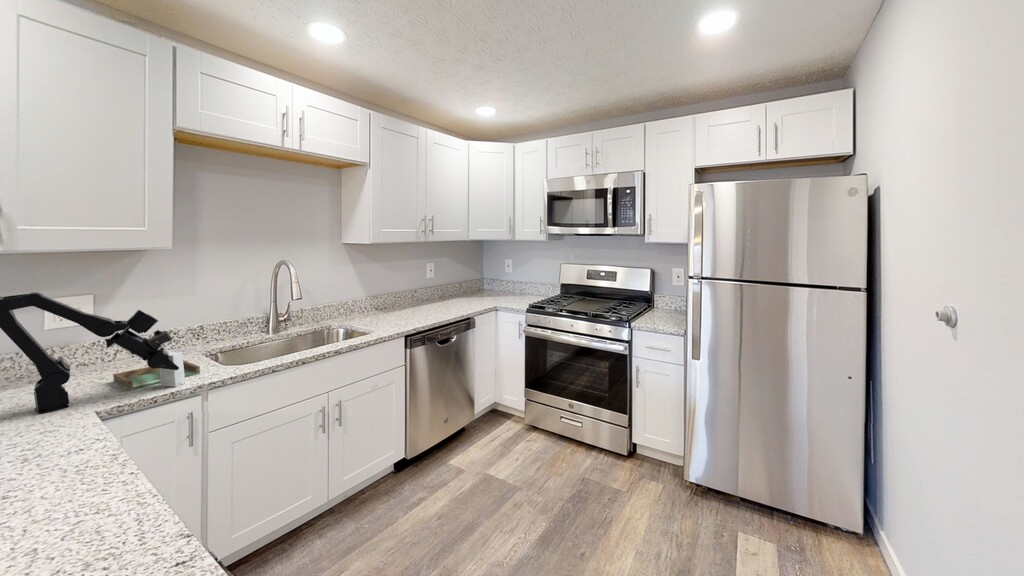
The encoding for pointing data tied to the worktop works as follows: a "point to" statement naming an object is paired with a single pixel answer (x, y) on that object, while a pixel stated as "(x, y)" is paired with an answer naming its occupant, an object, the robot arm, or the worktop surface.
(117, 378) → the box
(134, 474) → the worktop surface
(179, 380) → the skincare box
